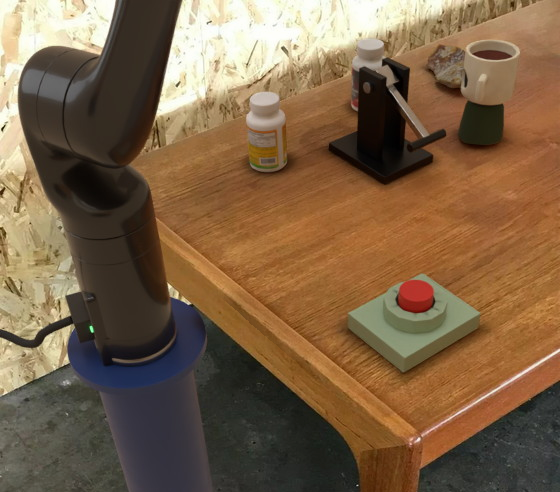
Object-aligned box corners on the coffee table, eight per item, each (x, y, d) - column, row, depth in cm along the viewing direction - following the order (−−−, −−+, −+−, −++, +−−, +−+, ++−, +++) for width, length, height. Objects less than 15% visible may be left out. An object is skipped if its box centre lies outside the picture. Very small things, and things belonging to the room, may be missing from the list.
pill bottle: (344, 102, 124) (345, 40, 117) (375, 95, 125) (378, 33, 118) (360, 117, 120) (362, 54, 113) (391, 110, 122) (395, 46, 115)
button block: (403, 373, 82) (406, 345, 79) (347, 327, 87) (348, 300, 84) (478, 328, 86) (483, 300, 83) (420, 287, 92) (423, 259, 89)
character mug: (465, 117, 119) (476, 30, 110) (512, 125, 117) (528, 37, 108) (444, 153, 112) (455, 62, 103) (494, 162, 110) (510, 70, 101)
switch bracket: (432, 162, 111) (442, 73, 102) (384, 184, 107) (389, 94, 98) (375, 129, 118) (379, 43, 109) (328, 150, 114) (328, 62, 105)
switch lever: (442, 142, 105) (450, 130, 103) (408, 157, 103) (416, 146, 101) (391, 72, 107) (398, 60, 105) (357, 86, 105) (363, 73, 103)
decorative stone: (463, 72, 118) (408, 48, 129) (462, 101, 121) (408, 75, 132) (515, 57, 121) (457, 35, 132) (513, 86, 124) (456, 61, 135)
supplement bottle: (269, 149, 115) (266, 84, 108) (295, 162, 112) (293, 97, 105) (241, 163, 112) (236, 98, 106) (267, 177, 110) (263, 111, 103)
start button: (414, 318, 82) (415, 306, 81) (391, 301, 85) (391, 288, 83) (439, 304, 84) (441, 291, 83) (415, 287, 86) (417, 275, 85)
